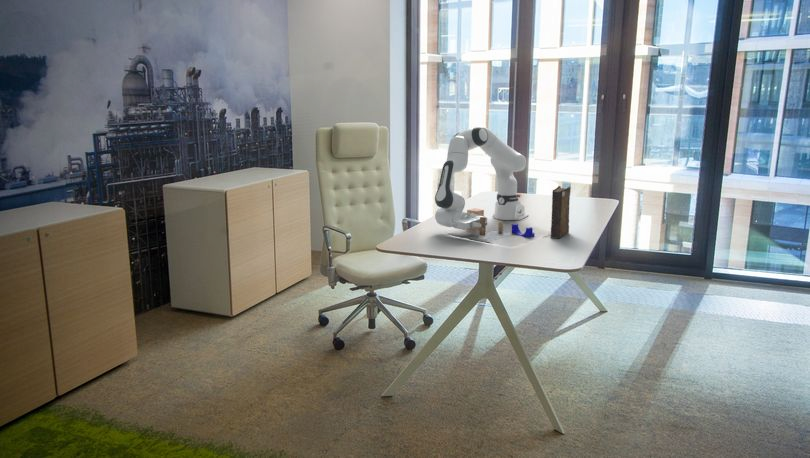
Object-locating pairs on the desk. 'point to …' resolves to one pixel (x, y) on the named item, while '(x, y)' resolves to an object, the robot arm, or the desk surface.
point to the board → (492, 234)
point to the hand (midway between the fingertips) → (484, 224)
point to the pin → (483, 228)
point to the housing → (478, 212)
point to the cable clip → (516, 231)
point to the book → (560, 212)
